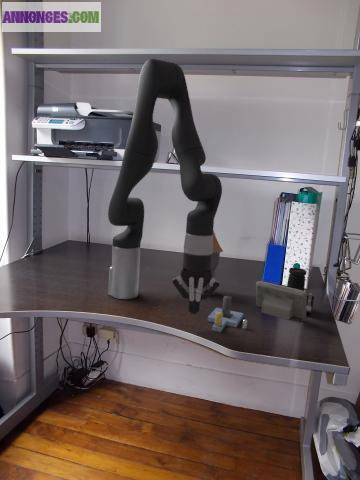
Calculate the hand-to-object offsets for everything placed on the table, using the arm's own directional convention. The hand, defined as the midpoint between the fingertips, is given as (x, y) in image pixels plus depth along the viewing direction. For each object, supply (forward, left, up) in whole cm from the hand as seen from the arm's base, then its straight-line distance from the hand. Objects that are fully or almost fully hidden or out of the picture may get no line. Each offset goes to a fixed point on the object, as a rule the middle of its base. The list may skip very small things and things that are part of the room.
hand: (193, 313), depth 100 cm
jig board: (+4, +10, -6) cm, 12 cm away
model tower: (-7, +29, -6) cm, 30 cm away
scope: (+24, +34, -6) cm, 42 cm away
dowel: (+13, +7, -5) cm, 15 cm away
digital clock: (+20, +25, -6) cm, 33 cm away
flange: (+6, +8, -4) cm, 11 cm away
